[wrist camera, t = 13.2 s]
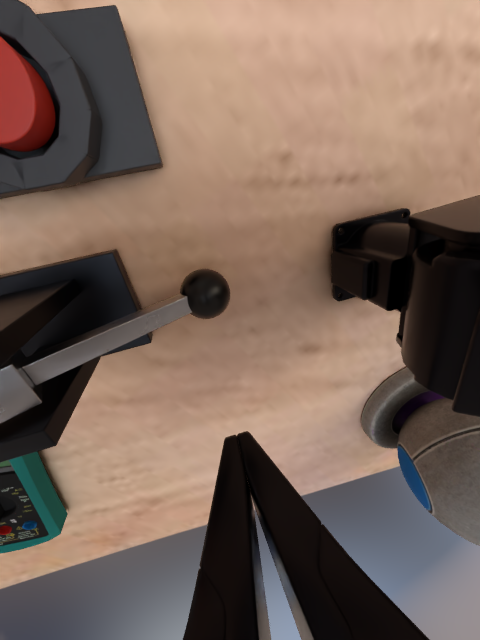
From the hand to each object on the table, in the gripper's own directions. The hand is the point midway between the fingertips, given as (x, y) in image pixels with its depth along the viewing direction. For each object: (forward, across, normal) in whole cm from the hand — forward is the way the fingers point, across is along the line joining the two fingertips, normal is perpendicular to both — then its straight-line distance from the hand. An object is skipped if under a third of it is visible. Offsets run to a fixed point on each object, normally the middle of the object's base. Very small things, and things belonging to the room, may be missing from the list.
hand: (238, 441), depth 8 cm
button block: (+13, +6, -12) cm, 19 cm away
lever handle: (+8, +5, -2) cm, 10 cm away
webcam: (+13, -22, +20) cm, 32 cm away
